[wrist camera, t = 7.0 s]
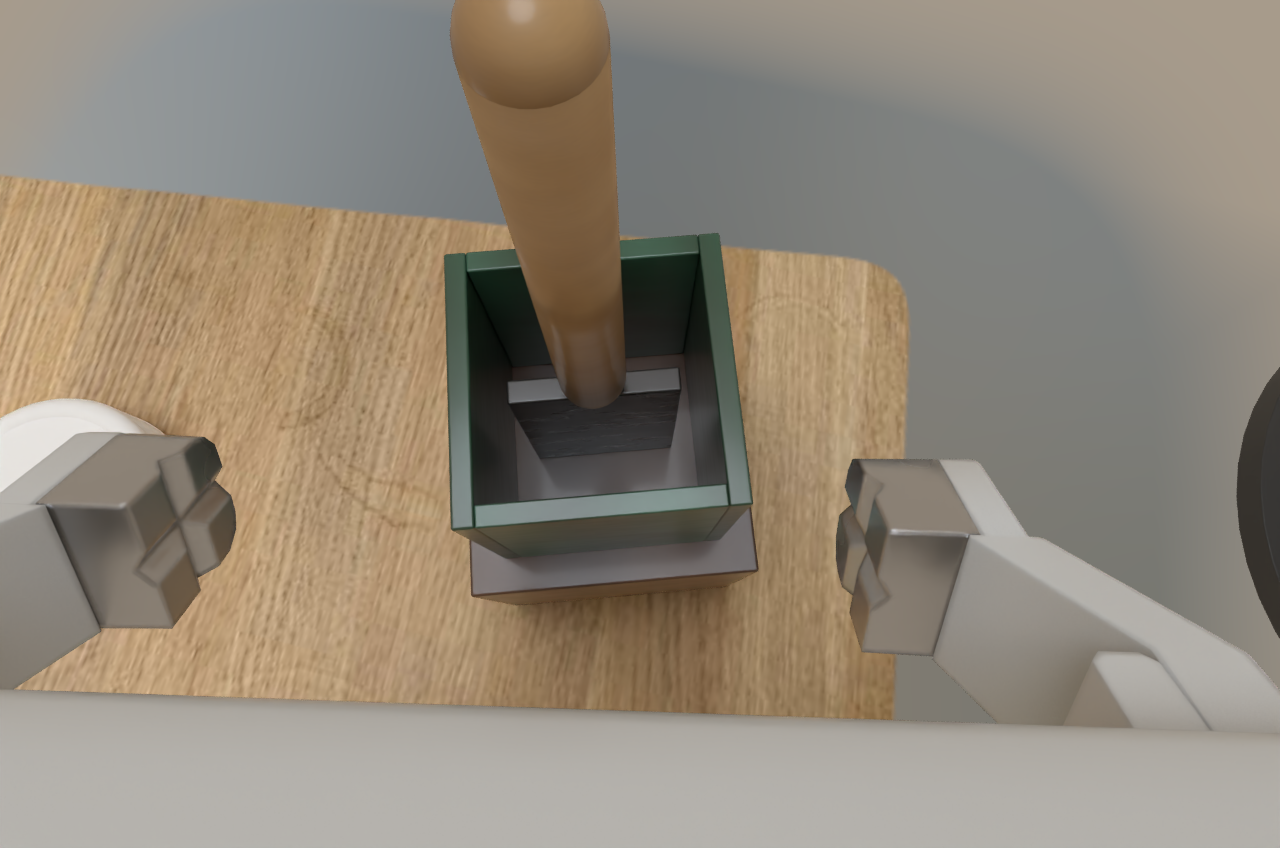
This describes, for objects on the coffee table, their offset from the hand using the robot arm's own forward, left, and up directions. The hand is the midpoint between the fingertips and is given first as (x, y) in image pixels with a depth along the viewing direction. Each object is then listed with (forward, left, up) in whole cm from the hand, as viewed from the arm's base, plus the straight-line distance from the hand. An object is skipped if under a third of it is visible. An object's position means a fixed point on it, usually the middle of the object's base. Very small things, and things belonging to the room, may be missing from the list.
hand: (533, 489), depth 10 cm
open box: (-1, -5, -27) cm, 28 cm away
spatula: (-1, -5, -17) cm, 18 cm away
